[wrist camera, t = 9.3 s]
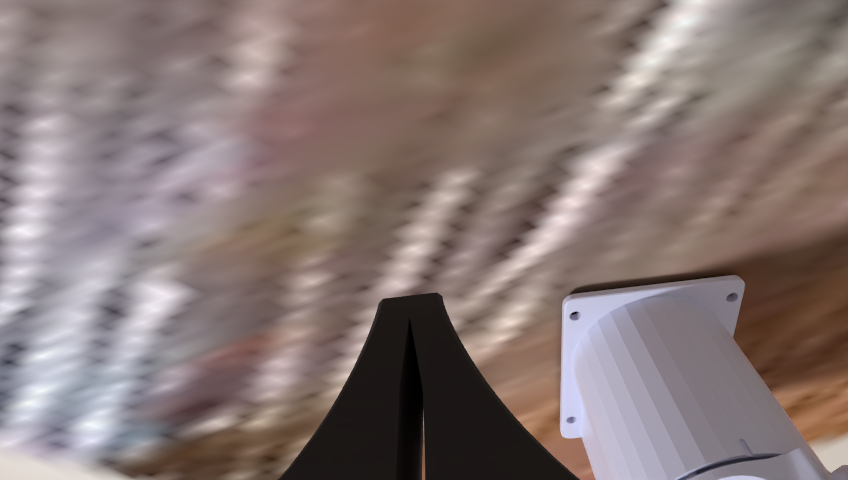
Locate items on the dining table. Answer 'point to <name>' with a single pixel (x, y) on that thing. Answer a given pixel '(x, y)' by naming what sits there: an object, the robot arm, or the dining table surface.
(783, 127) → the dining table surface
